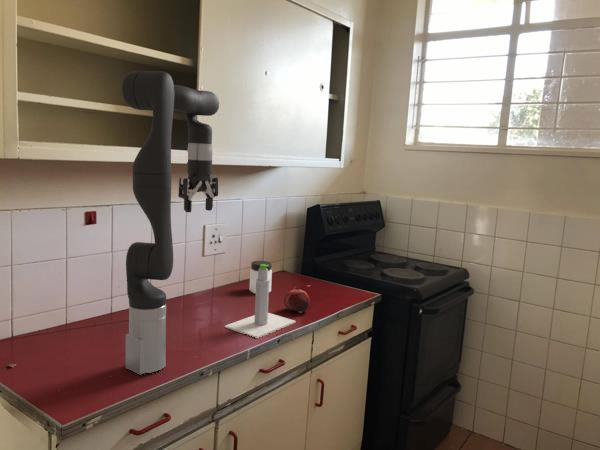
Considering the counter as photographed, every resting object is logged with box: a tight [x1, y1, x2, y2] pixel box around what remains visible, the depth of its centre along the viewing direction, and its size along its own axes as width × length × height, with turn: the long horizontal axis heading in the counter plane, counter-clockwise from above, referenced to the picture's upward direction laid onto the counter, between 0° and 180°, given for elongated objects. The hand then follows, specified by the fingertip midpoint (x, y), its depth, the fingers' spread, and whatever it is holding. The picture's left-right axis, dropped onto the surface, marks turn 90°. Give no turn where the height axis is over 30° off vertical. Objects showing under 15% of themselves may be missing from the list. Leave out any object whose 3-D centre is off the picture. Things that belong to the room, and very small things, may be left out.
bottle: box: [254, 264, 270, 325], centre depth 166 cm, size 4×4×20 cm
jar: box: [249, 260, 273, 295], centre depth 206 cm, size 9×8×12 cm
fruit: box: [283, 284, 311, 314], centre depth 183 cm, size 9×10×10 cm
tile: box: [224, 312, 297, 339], centre depth 168 cm, size 20×14×1 cm
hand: (198, 211), depth 156 cm, fingers open, 8 cm apart
